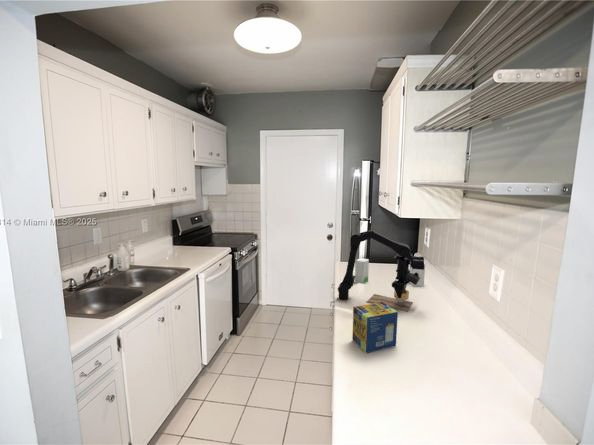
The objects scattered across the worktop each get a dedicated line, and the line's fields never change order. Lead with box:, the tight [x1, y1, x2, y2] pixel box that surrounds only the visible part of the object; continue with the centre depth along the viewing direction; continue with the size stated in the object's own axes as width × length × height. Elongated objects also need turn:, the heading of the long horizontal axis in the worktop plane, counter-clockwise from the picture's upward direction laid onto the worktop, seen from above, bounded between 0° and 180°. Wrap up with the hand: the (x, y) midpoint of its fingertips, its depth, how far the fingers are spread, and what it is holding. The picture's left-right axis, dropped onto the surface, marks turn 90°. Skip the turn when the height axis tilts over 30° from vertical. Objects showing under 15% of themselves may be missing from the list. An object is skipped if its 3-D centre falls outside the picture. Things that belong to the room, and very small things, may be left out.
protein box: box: [351, 302, 399, 354], centre depth 126 cm, size 10×15×16 cm
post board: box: [366, 293, 414, 313], centre depth 164 cm, size 14×22×6 cm, turn 57°
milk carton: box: [409, 256, 426, 287], centre depth 194 cm, size 7×7×19 cm
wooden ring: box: [393, 289, 410, 301], centre depth 160 cm, size 7×7×4 cm
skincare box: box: [354, 258, 370, 285], centre depth 199 cm, size 8×7×16 cm
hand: (401, 295), depth 160 cm, fingers closed on wooden ring, 7 cm apart
